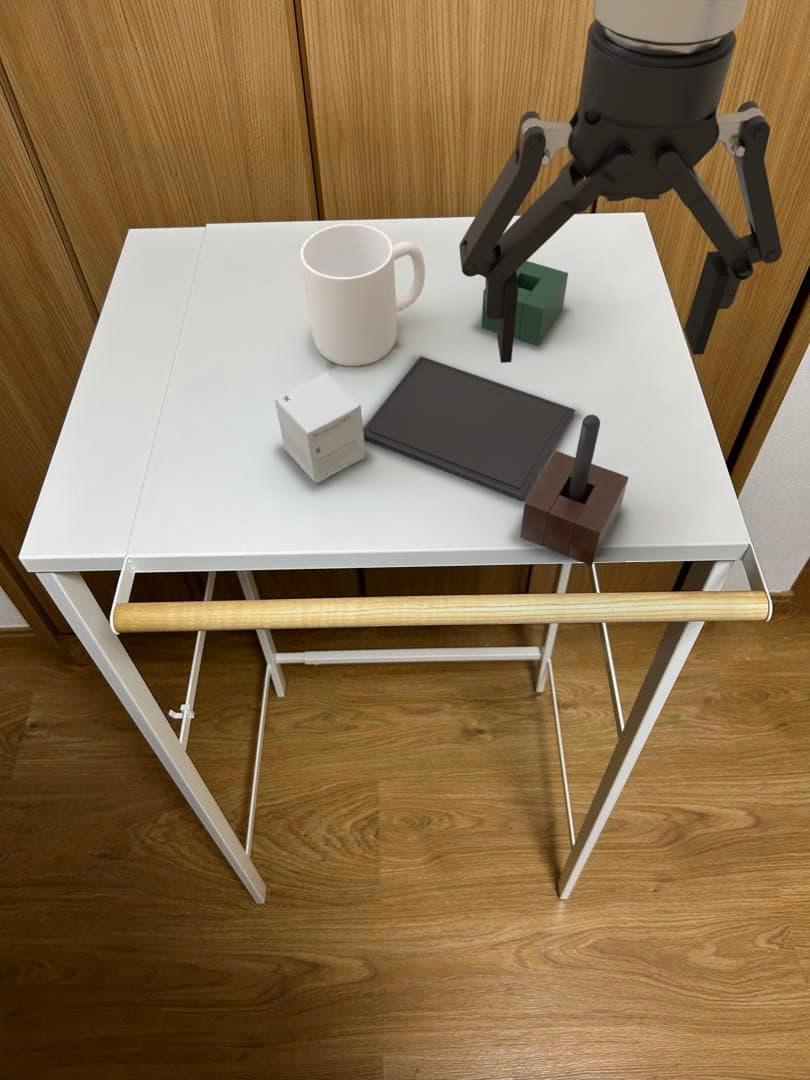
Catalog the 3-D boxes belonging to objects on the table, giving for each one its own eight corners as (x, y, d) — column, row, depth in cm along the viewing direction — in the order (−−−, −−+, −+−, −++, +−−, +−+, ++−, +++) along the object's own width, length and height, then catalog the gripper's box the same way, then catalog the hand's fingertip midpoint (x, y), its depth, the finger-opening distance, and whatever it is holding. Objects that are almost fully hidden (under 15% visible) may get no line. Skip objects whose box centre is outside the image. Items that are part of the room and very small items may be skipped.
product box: (315, 486, 81) (306, 434, 75) (283, 449, 84) (271, 396, 78) (367, 457, 83) (362, 404, 77) (334, 423, 86) (326, 369, 80)
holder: (619, 511, 78) (629, 476, 74) (591, 566, 74) (600, 532, 70) (549, 485, 80) (555, 450, 76) (519, 537, 76) (524, 502, 72)
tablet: (574, 414, 86) (575, 408, 85) (522, 501, 79) (523, 495, 78) (420, 360, 91) (420, 355, 90) (360, 437, 85) (359, 432, 84)
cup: (300, 330, 95) (285, 240, 85) (405, 291, 98) (402, 201, 89) (336, 379, 90) (324, 290, 80) (445, 336, 93) (446, 246, 84)
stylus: (579, 521, 77) (604, 414, 66) (574, 532, 77) (597, 425, 65) (565, 516, 78) (587, 408, 66) (559, 526, 77) (580, 419, 66)
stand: (562, 309, 96) (568, 272, 91) (538, 346, 92) (543, 309, 88) (507, 292, 98) (510, 255, 94) (481, 327, 94) (483, 290, 90)
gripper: (881, -19, 45) (758, 305, 62) (417, 2, 45) (423, 319, 62) (938, 44, 40) (788, 374, 57) (423, 67, 40) (427, 389, 58)
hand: (598, 346), depth 60 cm, fingers open, 13 cm apart
